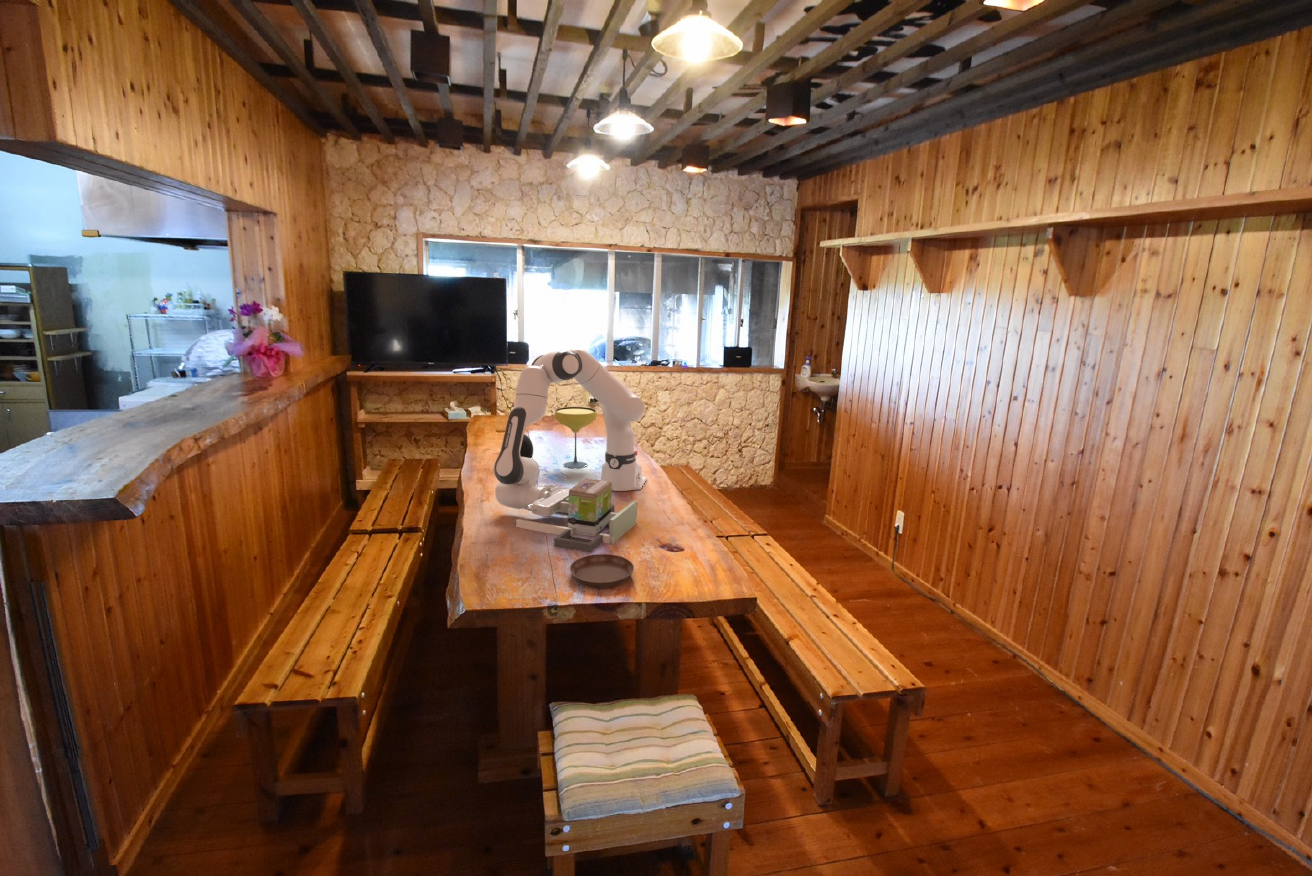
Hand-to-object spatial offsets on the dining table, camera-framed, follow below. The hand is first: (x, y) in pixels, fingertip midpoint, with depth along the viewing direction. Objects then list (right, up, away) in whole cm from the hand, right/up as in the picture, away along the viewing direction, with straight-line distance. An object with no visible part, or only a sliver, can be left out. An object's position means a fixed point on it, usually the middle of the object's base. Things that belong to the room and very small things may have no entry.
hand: (576, 505), depth 212 cm
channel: (0, -7, +1) cm, 7 cm away
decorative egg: (-34, +10, +68) cm, 77 cm away
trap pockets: (+4, -7, 0) cm, 8 cm away
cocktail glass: (-9, +10, +73) cm, 74 cm away
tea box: (+5, -8, 0) cm, 9 cm away
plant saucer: (+12, -16, -36) cm, 41 cm away
